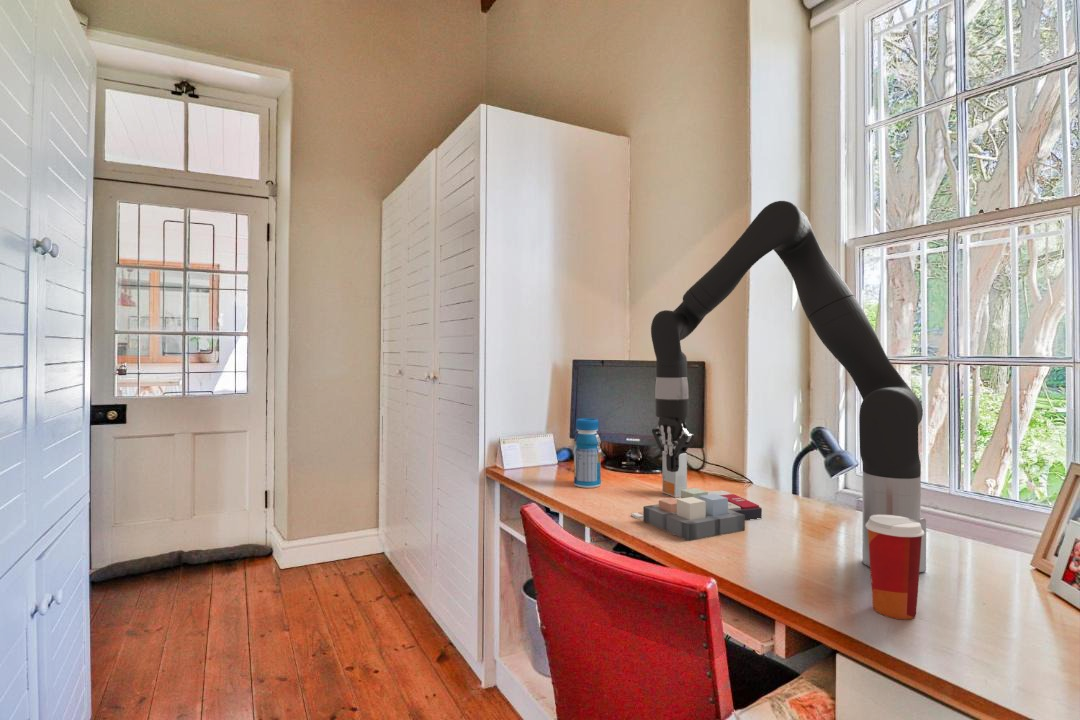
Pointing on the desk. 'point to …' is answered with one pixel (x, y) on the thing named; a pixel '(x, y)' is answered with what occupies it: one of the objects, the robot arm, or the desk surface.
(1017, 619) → the desk surface
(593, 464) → the beverage bottle
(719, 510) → the slate key
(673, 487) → the skincare box
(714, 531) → the keypad base
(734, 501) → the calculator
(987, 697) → the desk surface
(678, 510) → the cream key
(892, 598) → the paper cup
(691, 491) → the sage key
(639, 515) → the strip
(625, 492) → the desk surface
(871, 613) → the desk surface
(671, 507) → the terracotta key
